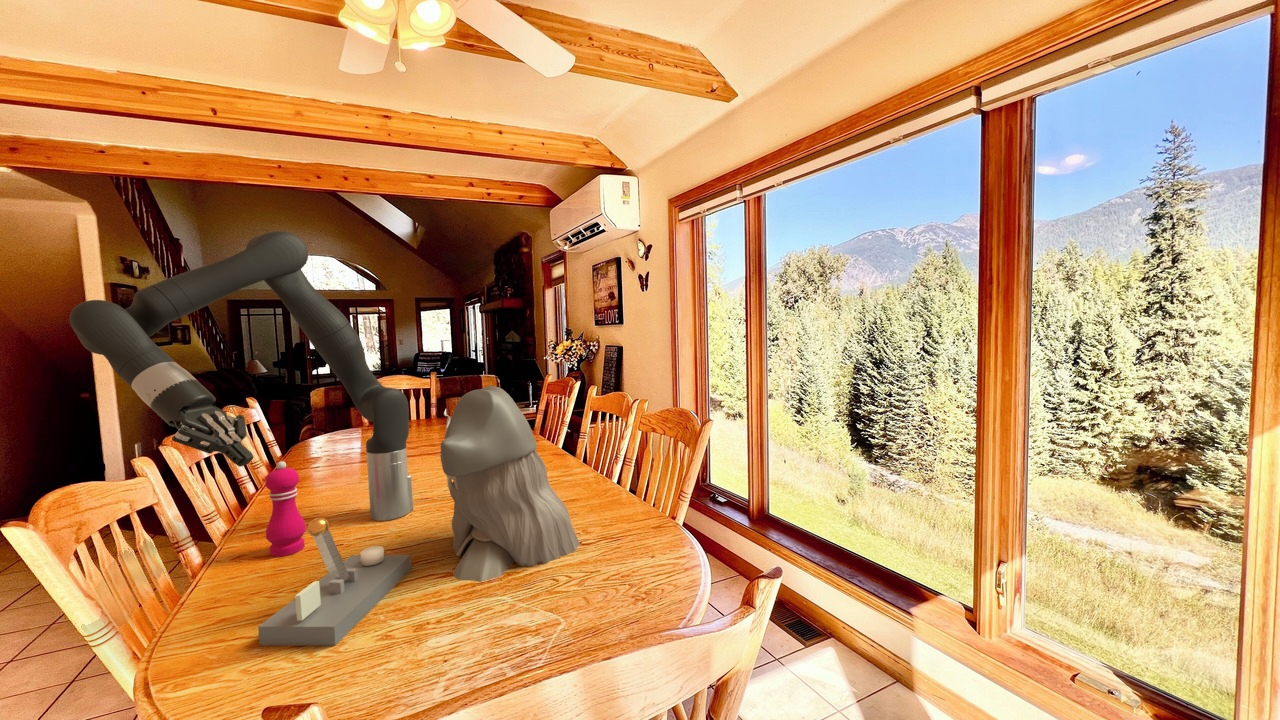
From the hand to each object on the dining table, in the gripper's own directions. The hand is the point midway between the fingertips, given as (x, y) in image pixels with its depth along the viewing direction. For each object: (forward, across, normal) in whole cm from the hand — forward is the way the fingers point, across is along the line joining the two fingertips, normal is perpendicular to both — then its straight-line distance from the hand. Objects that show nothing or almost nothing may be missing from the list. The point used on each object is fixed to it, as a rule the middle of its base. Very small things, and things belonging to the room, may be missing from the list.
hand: (247, 462), depth 89 cm
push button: (+27, +9, +4) cm, 29 cm away
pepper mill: (+11, +21, +25) cm, 35 cm away
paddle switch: (+27, -9, +5) cm, 29 cm away
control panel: (+29, 0, +7) cm, 30 cm away
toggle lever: (+27, 0, +5) cm, 28 cm away
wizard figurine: (+44, +24, -8) cm, 51 cm away
